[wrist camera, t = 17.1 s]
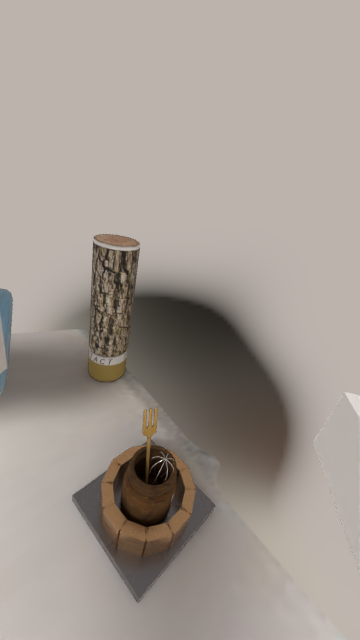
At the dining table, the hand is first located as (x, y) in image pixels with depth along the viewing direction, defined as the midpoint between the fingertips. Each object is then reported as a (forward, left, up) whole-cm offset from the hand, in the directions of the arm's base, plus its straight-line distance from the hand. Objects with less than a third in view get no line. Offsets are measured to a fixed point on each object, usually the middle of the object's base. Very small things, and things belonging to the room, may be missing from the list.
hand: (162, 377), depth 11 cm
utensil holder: (-6, +9, -28) cm, 29 cm away
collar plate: (-6, +9, -28) cm, 30 cm away
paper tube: (-29, +19, -29) cm, 45 cm away
